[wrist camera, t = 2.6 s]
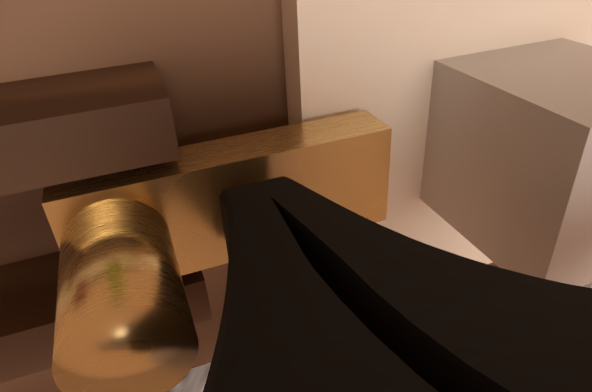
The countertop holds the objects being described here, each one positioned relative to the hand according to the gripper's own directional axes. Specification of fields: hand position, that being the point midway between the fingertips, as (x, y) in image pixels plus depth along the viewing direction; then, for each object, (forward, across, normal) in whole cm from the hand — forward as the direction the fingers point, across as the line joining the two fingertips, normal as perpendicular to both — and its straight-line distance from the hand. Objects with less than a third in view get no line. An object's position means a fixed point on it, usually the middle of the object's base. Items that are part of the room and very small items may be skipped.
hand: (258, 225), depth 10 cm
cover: (+3, -7, 0) cm, 8 cm away
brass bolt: (+2, 0, 0) cm, 2 cm away
